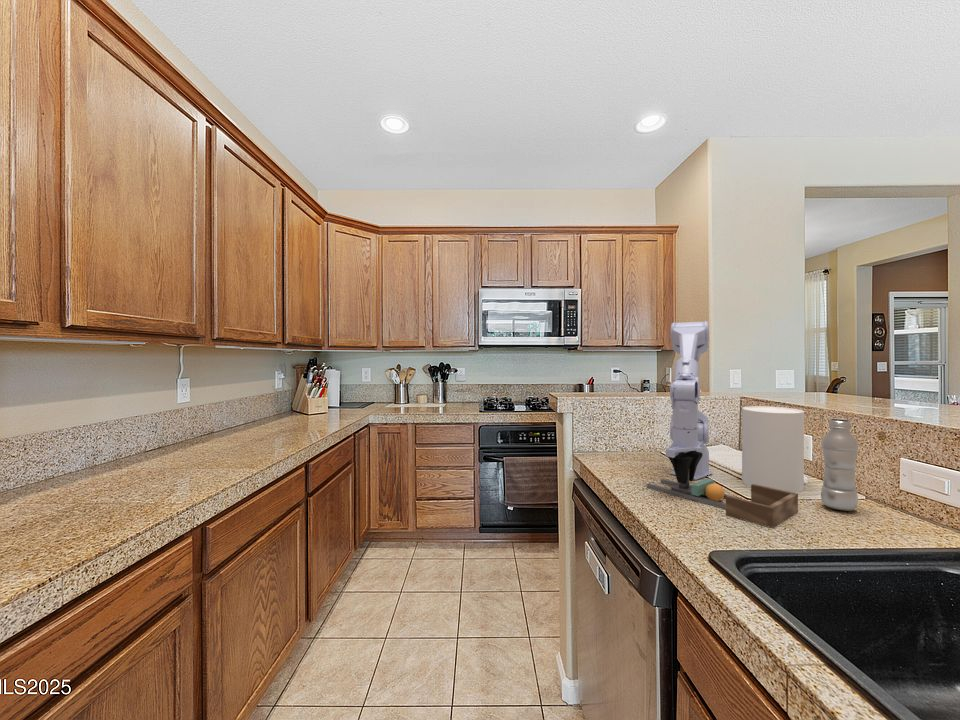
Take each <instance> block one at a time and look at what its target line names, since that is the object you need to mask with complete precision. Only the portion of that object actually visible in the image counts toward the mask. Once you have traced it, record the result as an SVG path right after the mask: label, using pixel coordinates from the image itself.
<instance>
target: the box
mask: <svg viewBox="0 0 960 720" xmlns="http://www.w3.org/2000/svg"><path fill="white" fill-rule="evenodd" d="M732 496H733V495H731V496H726V499H725V504H726V509H725V515H726V516H729V517H732V518H737V519H740V520H743V521H747V522H751V523H754V524H757V525H760V524H761V525H760V526H764V525H765V527H767V526H769V527H768V528H771V527H773V528H775V527H776V526H778V525H780V524H781V523H783V522H785V521H786V520H788V519H790V518H791V517H793V516H794V515H796V514H797V513H798V512H799V493H792V492H787V491H783V490H778V489H774V488H769V487H764V486H760V485H755V484H752V485H751V487H750V500H748V499H743V498H742V499H740V498H741V497H739V498H736V497H737V496H735V497H732Z"/></svg>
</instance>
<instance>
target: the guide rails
mask: <svg viewBox="0 0 960 720" xmlns="http://www.w3.org/2000/svg"><path fill="white" fill-rule="evenodd" d="M660 484H663V485H668V486H671V487H673V486H675V485H678V484H679V482H677V481H673V480H670V479H665V478H661V479H660ZM646 488H648V489H650V490H653V491H658V492H662V493H665V494H668V495H669V494H670V495H671V496H676V497H680V498H684V499H687V500H691V501H694V502H697V503H700V504H705V505H709V506H712V507H716V508H719V509H724V510H726V502H721V501H714V500H710V499H709V498H705V497H702V496H695V495H691V494H687V493H683V492H680V491H676V490H672V489H671V488H669V487H664V486H660V485H658V484H657V485H656V484H654V483H653V484H652V483H647V484H646ZM703 495H706V493H704V494H703ZM726 496H732V497H736V498H740V499H743V497H738V496H734V495H730V494H727V493H724V497H723V499H722V500H726Z"/></svg>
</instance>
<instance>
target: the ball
mask: <svg viewBox="0 0 960 720" xmlns="http://www.w3.org/2000/svg"><path fill="white" fill-rule="evenodd" d="M705 493H706V494H705V496H706V497H707V499H710V500H714V501H718V502H721V500H724V499H723V497H724V494H725V491H724V489H723V487H722V486H721V485H719V484H717V483H714V484H710V485H708V486H707V487H706V489H705Z"/></svg>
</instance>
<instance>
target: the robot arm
mask: <svg viewBox="0 0 960 720" xmlns="http://www.w3.org/2000/svg"><path fill="white" fill-rule="evenodd" d="M709 327H710V325H709V322H708V321H707V320H704V321H687V322H676V321H675V322H672V323H671V324H670V342H671V347H672V349H673V352H674V353H677V354H678V355H679V358H678V359H677V360H676V361H675V363H674V368H673V369H674V370H673V371H674V373H673V381H671V382H670V387H669V392H670V393H669V395H670V397H669V398H670V402H671V409H672V415H671V416H670V423H669V424H670V425H669V438H670V440H671V441H672V443H671V444H670V445H669V446H668V447H666V448H665V457H667V458H668V459H669V461H670V462H671V463H670V464H671V465H672V467H673V470H672V471H669V472H668V473H669V474H670V475H673V476H675V477H676V482H678V483H679V482H680V483H684V484H686V483H687V480H688V471H689V482H693V481H694V480H695V481H697V480H700V479H702V478H705V477H708V476H711V475H713V471H710V451H709V448H708V447H707V446H706V445H707V444H708V443H709V439H710V438H709V437H710V436H709V435H710V434H709V433H710V432H709V430H710V428H709V427H710V425H709V418H708V417H707V415H706V414H705V413H704V412H702V411H700V410H699V403H700V398H701V385H700V381H699V380H700V379H699V371H700V365H699V361H700V358H701V355H702V354H704V353H706V352H708V349H709V342H710V329H709ZM710 474H711V475H710ZM707 475H708V476H707Z"/></svg>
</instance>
